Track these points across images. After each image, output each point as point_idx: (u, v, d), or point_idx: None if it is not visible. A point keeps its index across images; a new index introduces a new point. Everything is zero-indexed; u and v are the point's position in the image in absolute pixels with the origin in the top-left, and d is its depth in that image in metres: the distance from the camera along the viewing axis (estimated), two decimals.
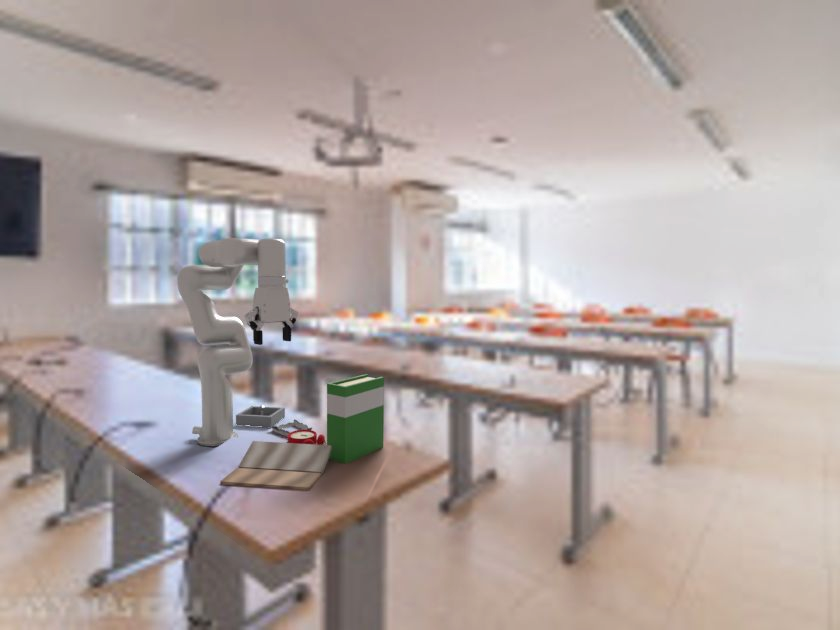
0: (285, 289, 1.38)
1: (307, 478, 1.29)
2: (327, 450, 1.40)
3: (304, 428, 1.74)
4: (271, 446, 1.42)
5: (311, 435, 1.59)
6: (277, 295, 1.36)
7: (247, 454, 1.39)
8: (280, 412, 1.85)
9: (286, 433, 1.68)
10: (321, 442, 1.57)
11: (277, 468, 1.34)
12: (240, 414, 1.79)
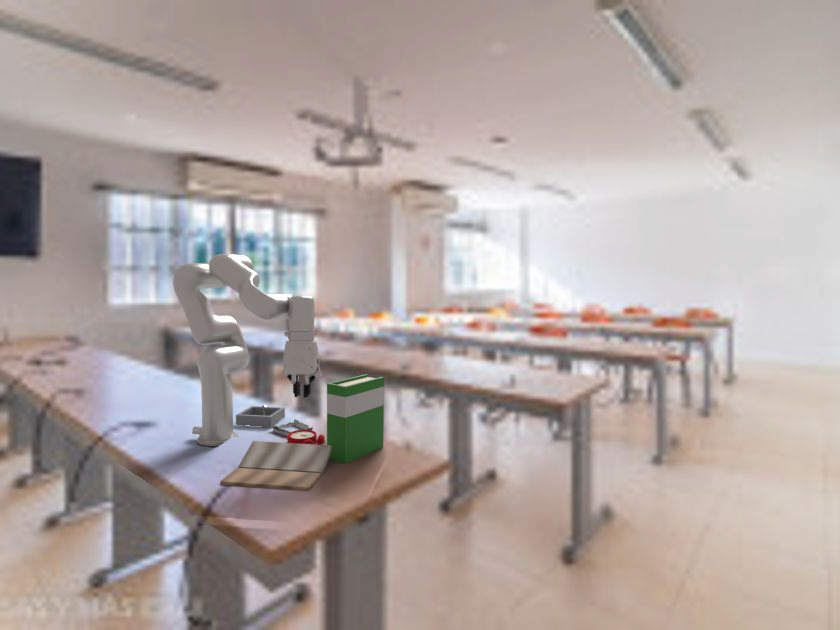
0: None
1: (307, 478, 1.29)
2: (327, 450, 1.40)
3: (305, 428, 1.74)
4: (271, 446, 1.42)
5: (311, 435, 1.59)
6: None
7: (247, 454, 1.39)
8: (280, 412, 1.85)
9: (287, 433, 1.68)
10: (321, 442, 1.57)
11: (277, 468, 1.34)
12: (240, 414, 1.79)
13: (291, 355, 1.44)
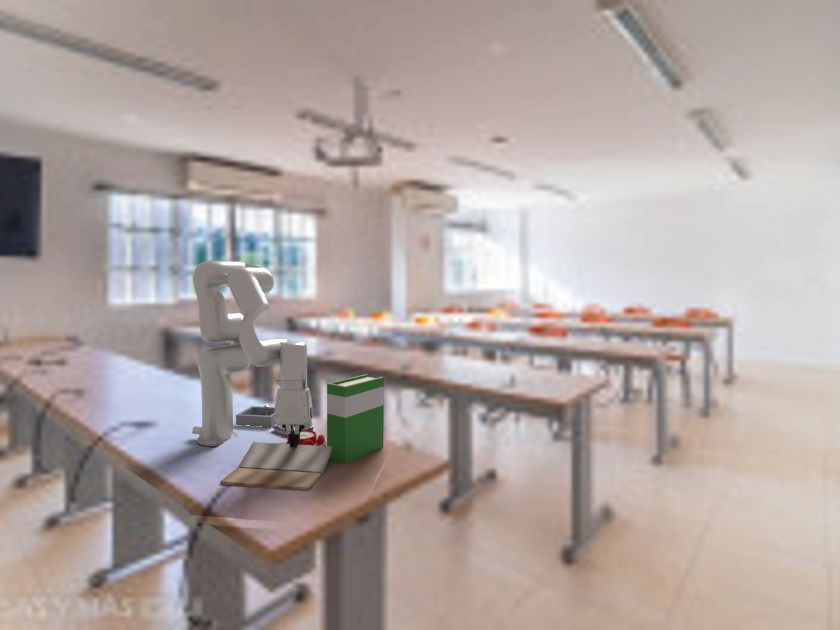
0: None
1: (307, 478, 1.29)
2: (327, 451, 1.40)
3: (305, 428, 1.75)
4: (271, 447, 1.42)
5: (311, 435, 1.59)
6: None
7: (247, 455, 1.39)
8: None
9: None
10: (321, 442, 1.57)
11: (277, 468, 1.34)
12: (240, 414, 1.79)
13: (282, 404, 1.38)
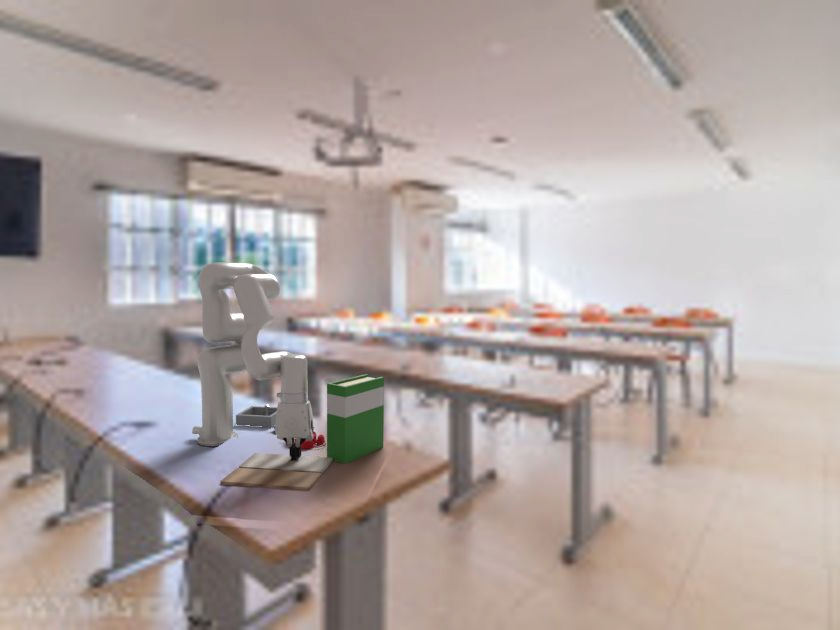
0: None
1: (307, 478, 1.29)
2: (328, 460, 1.41)
3: None
4: (273, 456, 1.43)
5: None
6: None
7: (248, 460, 1.40)
8: None
9: None
10: (321, 442, 1.57)
11: (278, 468, 1.35)
12: (240, 414, 1.79)
13: (283, 417, 1.38)
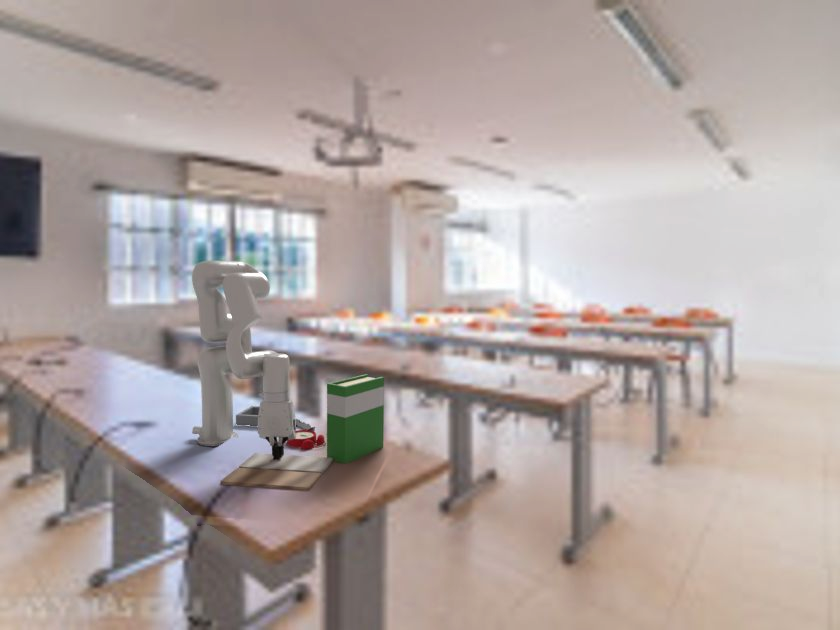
0: None
1: (307, 478, 1.29)
2: (328, 460, 1.41)
3: (307, 427, 1.75)
4: None
5: (311, 435, 1.59)
6: None
7: (248, 460, 1.40)
8: None
9: None
10: (321, 442, 1.57)
11: (278, 468, 1.35)
12: (240, 414, 1.79)
13: (265, 416, 1.39)
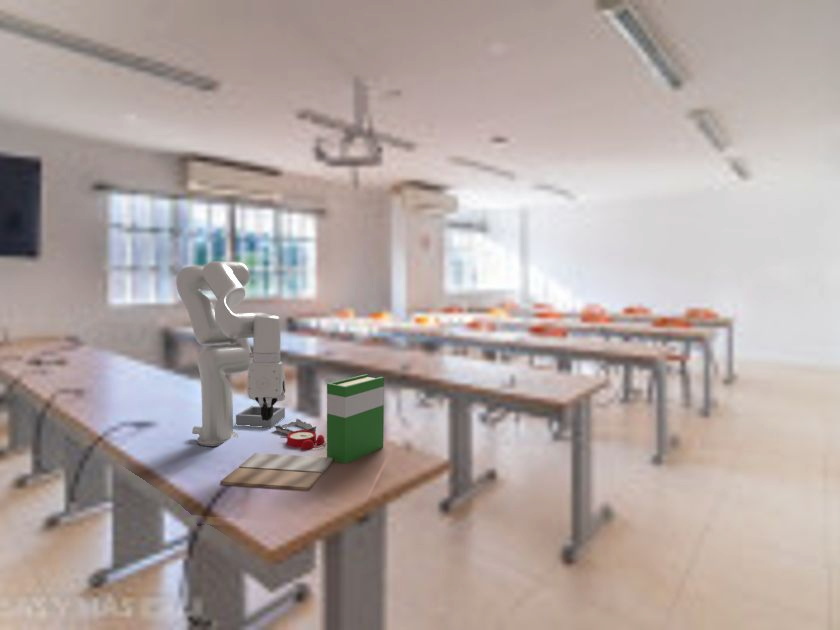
0: None
1: (307, 478, 1.29)
2: (328, 460, 1.41)
3: (308, 427, 1.75)
4: (273, 456, 1.43)
5: (310, 435, 1.58)
6: None
7: (248, 460, 1.40)
8: (280, 412, 1.85)
9: None
10: (320, 442, 1.56)
11: (278, 468, 1.35)
12: (240, 414, 1.79)
13: (255, 377, 1.39)
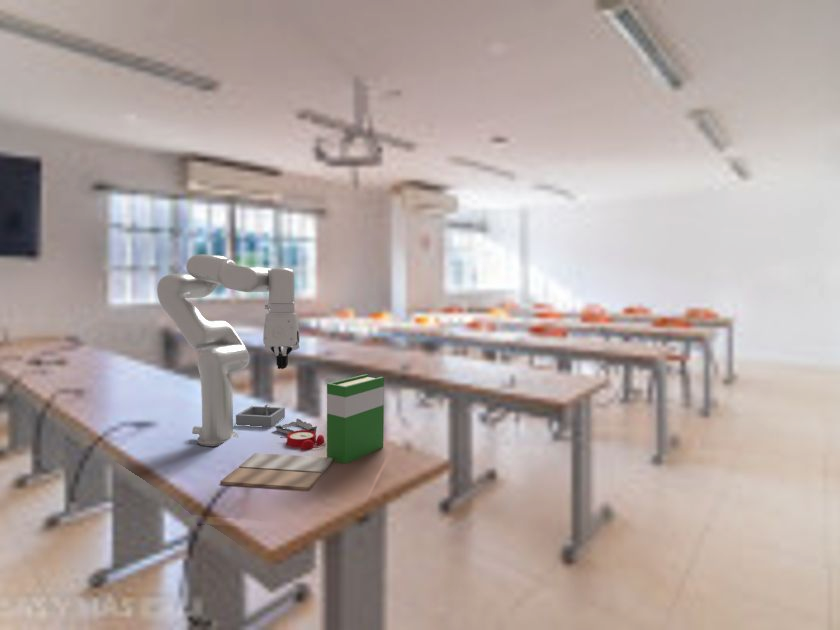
0: None
1: (307, 478, 1.29)
2: (328, 460, 1.41)
3: (308, 427, 1.76)
4: (273, 456, 1.43)
5: (310, 435, 1.58)
6: None
7: (248, 460, 1.40)
8: (280, 412, 1.85)
9: None
10: (320, 442, 1.56)
11: (278, 468, 1.35)
12: (240, 414, 1.79)
13: (271, 326, 1.46)
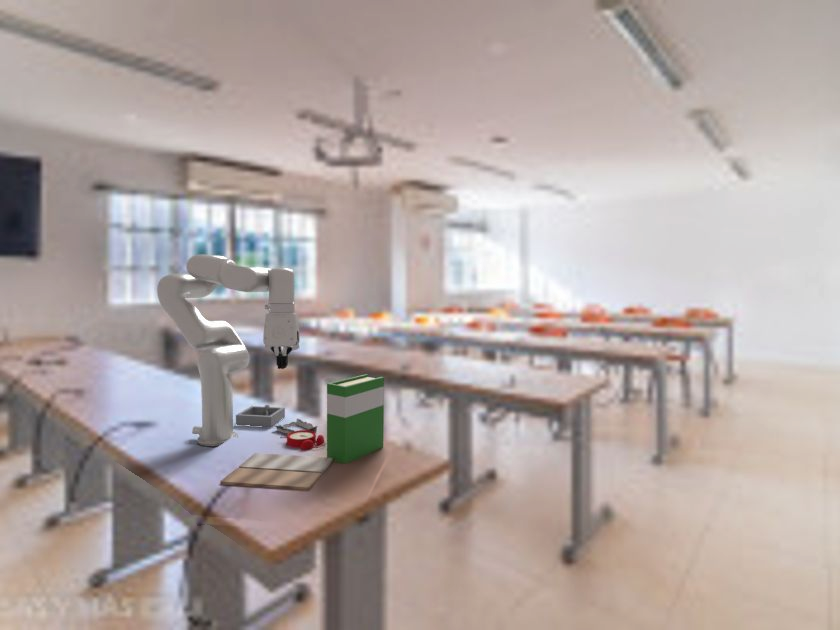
0: None
1: (307, 478, 1.29)
2: (328, 460, 1.41)
3: (308, 427, 1.76)
4: (273, 456, 1.43)
5: (310, 436, 1.58)
6: None
7: (248, 460, 1.40)
8: (280, 412, 1.85)
9: None
10: (320, 442, 1.56)
11: (278, 468, 1.35)
12: (240, 414, 1.79)
13: (271, 326, 1.46)
